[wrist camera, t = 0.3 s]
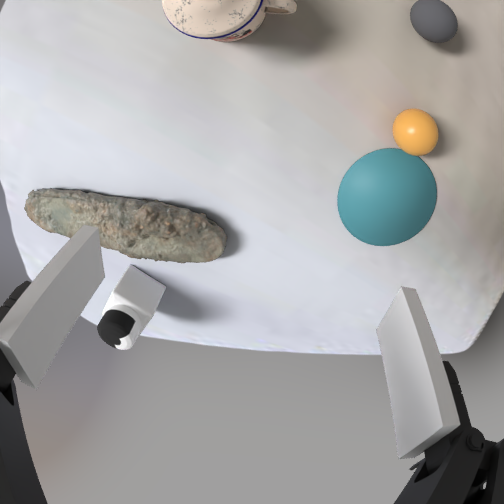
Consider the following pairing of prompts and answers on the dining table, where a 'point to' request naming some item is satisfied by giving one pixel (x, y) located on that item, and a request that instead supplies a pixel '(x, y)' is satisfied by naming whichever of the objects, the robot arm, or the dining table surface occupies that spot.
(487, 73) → the dining table surface
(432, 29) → the dark grey ball
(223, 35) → the teacup with lid
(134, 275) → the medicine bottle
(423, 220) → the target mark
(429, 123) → the object ball
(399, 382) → the robot arm
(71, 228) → the long grey stone
